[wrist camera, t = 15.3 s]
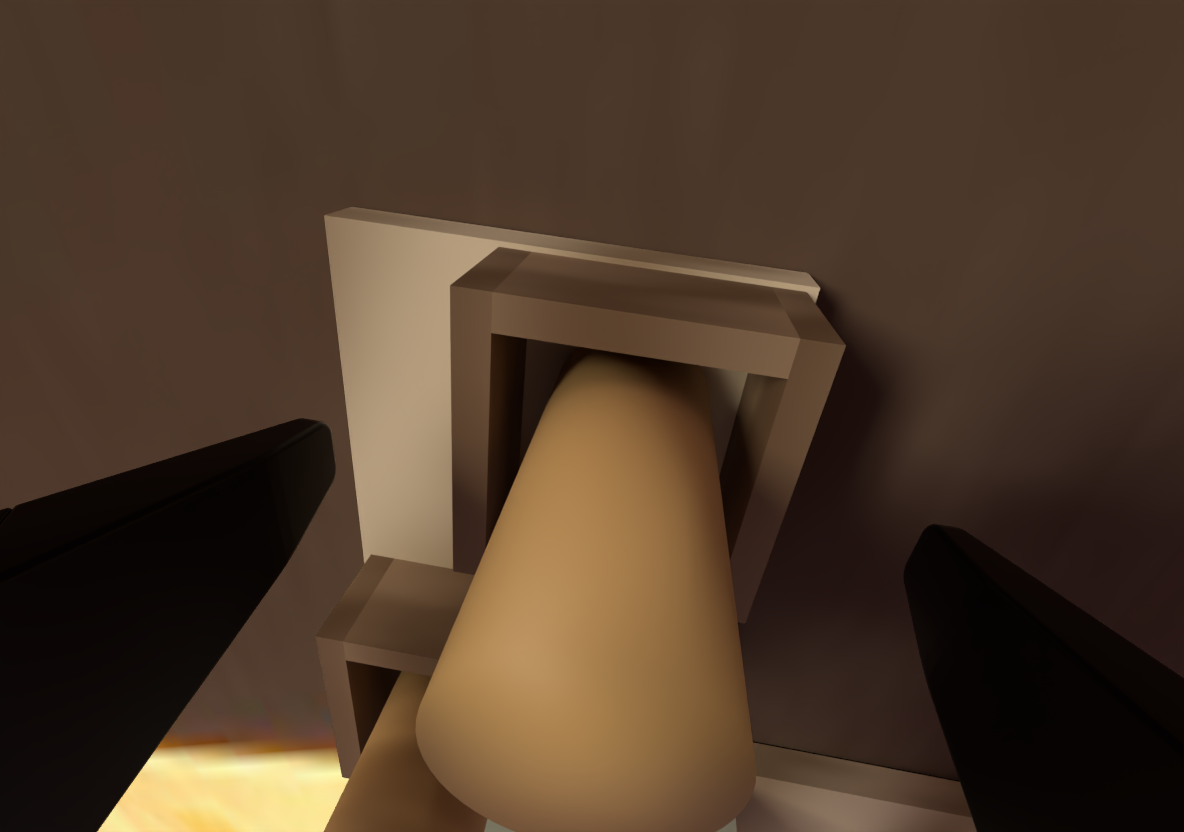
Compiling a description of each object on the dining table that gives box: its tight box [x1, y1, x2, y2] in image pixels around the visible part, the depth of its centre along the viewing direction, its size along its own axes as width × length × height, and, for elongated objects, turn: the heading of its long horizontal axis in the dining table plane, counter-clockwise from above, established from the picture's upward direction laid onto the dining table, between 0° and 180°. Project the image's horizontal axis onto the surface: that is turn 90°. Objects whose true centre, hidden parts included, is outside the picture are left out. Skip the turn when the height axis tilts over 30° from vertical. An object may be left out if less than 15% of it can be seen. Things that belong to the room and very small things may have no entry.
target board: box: [315, 207, 846, 832], centre depth 10 cm, size 9×14×8 cm, turn 173°
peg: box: [415, 347, 757, 832], centre depth 8 cm, size 3×3×7 cm
